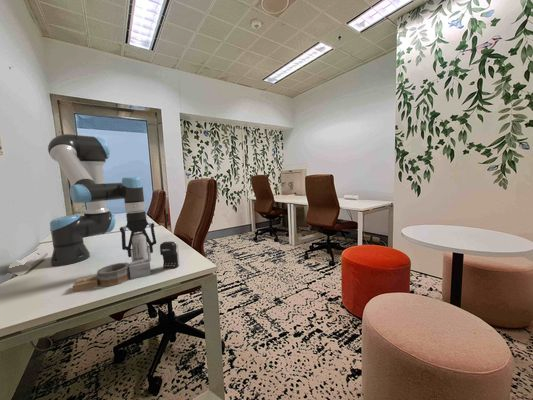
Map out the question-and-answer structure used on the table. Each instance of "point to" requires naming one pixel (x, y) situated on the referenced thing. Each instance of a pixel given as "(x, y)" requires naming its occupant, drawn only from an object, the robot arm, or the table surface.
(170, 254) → the battery
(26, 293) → the table surface
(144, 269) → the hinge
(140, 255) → the energy drink can
